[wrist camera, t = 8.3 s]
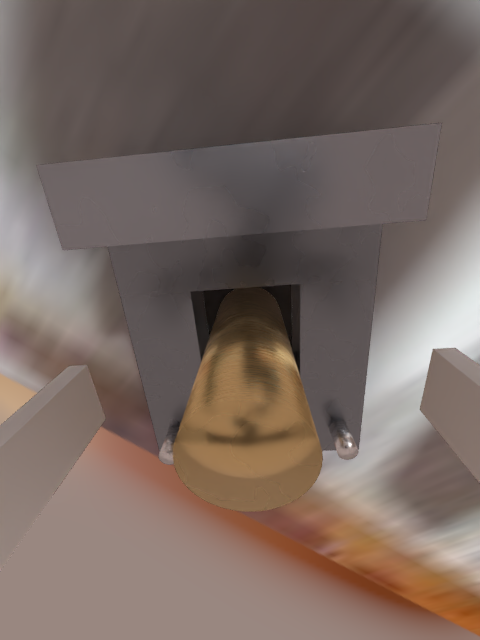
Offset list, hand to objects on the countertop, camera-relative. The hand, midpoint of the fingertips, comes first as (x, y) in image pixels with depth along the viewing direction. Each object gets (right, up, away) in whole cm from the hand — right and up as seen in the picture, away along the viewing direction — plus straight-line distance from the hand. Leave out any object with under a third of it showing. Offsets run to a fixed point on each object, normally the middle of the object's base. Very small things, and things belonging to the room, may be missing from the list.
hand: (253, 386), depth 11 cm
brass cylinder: (0, +3, +8) cm, 9 cm away
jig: (0, +3, +8) cm, 9 cm away
